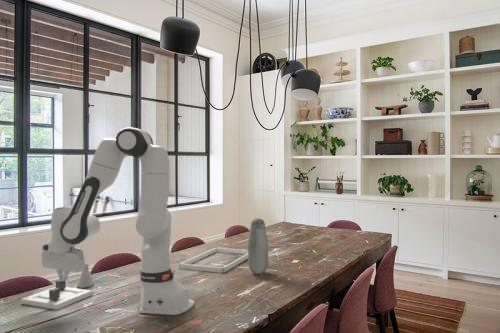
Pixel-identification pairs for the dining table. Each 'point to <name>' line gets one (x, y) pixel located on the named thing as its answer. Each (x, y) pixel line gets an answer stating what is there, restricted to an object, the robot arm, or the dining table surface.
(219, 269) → the tray
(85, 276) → the flask
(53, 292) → the block
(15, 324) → the dining table surface
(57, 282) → the block
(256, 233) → the grey bottle
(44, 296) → the plate
